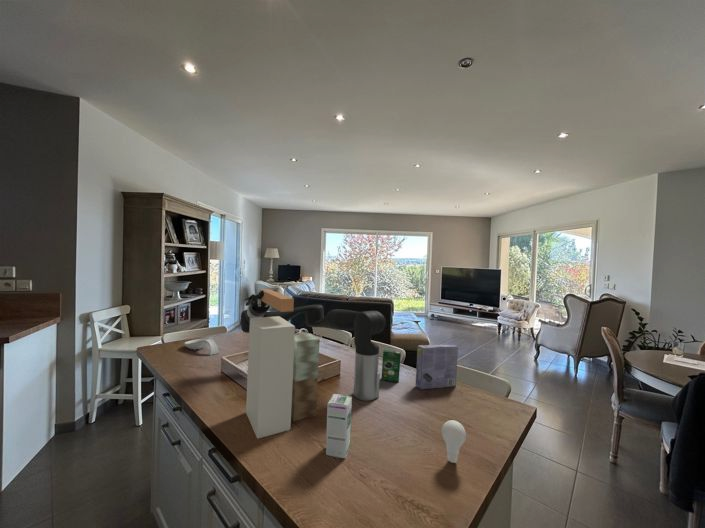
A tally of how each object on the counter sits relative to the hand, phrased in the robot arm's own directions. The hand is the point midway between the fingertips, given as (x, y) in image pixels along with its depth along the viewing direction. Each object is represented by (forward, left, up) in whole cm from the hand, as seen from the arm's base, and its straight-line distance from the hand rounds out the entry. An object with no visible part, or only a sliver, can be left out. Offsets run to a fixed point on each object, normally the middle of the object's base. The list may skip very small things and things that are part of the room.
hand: (269, 292), depth 110 cm
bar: (-2, +7, -3) cm, 8 cm away
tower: (-12, +14, -39) cm, 44 cm away
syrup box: (-20, +36, -39) cm, 57 cm away
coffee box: (-54, -6, -39) cm, 67 cm away
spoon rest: (+33, -61, -40) cm, 80 cm away
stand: (-1, +17, -39) cm, 43 cm away
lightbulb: (-49, +47, -39) cm, 79 cm away
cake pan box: (-72, +3, -40) cm, 82 cm away
